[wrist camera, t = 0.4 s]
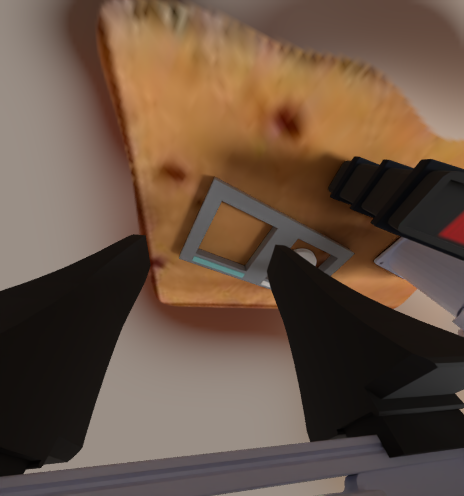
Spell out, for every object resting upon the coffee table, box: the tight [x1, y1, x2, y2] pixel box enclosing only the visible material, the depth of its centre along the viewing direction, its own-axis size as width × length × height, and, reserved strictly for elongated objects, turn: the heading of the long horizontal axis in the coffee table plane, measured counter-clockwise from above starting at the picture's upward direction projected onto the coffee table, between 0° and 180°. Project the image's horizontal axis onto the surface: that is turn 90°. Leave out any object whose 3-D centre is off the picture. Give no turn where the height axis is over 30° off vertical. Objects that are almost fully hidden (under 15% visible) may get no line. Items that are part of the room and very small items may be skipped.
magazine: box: [328, 156, 464, 261], centre depth 14 cm, size 4×13×15 cm, turn 73°
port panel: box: [179, 177, 355, 289], centre depth 21 cm, size 20×10×1 cm, turn 62°
